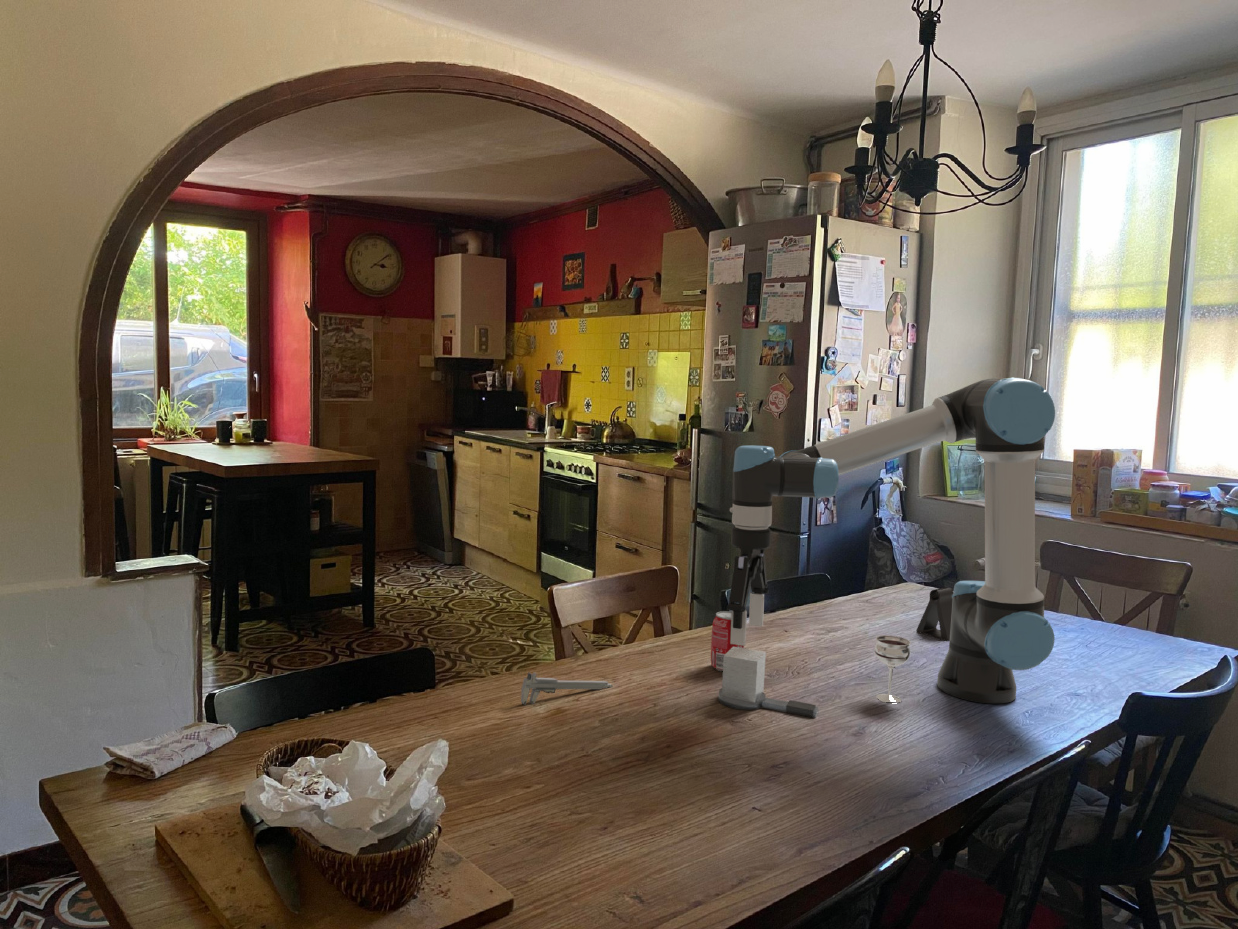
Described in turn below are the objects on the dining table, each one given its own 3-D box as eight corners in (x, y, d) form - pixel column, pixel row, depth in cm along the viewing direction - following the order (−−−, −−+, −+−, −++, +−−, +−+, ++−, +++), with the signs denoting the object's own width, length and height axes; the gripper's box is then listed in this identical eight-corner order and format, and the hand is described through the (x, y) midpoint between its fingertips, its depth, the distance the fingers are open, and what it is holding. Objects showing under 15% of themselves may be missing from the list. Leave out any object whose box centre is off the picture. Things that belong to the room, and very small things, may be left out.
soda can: (741, 664, 185) (744, 611, 184) (743, 675, 178) (746, 620, 177) (709, 662, 186) (712, 609, 184) (710, 672, 179) (713, 618, 177)
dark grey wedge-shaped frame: (916, 631, 216) (919, 586, 215) (929, 628, 220) (933, 583, 218) (947, 641, 209) (951, 594, 208) (961, 637, 212) (964, 591, 211)
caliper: (523, 707, 156) (524, 675, 156) (520, 705, 157) (521, 673, 157) (612, 688, 168) (614, 658, 168) (609, 686, 169) (610, 656, 168)
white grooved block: (763, 691, 165) (765, 652, 164) (755, 702, 159) (757, 661, 158) (731, 685, 167) (733, 646, 166) (721, 696, 161) (723, 655, 160)
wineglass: (908, 707, 164) (913, 647, 162) (872, 703, 165) (877, 643, 164) (904, 694, 170) (908, 637, 169) (869, 691, 172) (873, 634, 170)
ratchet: (820, 707, 162) (823, 674, 161) (812, 724, 153) (814, 689, 153) (725, 689, 169) (727, 658, 168) (712, 704, 161) (714, 671, 160)
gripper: (748, 516, 173) (745, 616, 175) (713, 534, 150) (709, 650, 152) (784, 519, 170) (780, 621, 172) (754, 538, 147) (750, 656, 149)
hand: (747, 634), depth 162 cm, fingers open, 13 cm apart
